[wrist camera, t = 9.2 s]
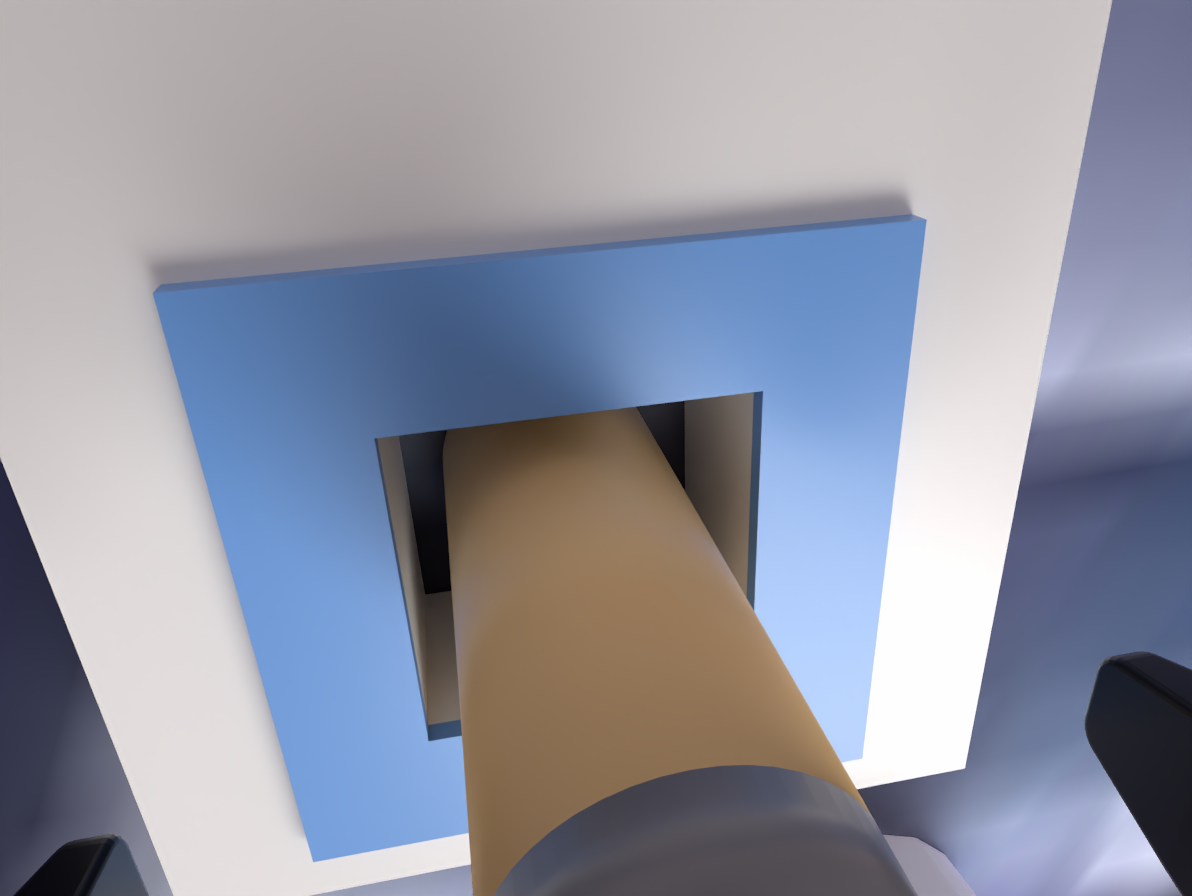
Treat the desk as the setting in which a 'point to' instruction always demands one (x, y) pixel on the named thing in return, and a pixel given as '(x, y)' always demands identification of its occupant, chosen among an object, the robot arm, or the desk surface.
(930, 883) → the white cylinder
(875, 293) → the block
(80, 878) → the robot arm
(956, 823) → the desk surface
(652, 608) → the grey-capped tan cylinder
